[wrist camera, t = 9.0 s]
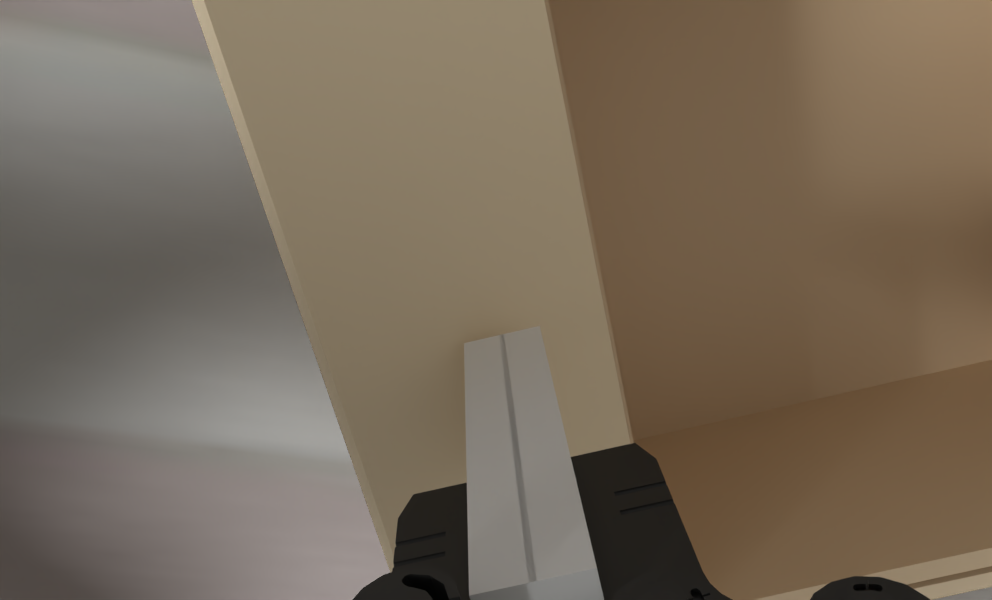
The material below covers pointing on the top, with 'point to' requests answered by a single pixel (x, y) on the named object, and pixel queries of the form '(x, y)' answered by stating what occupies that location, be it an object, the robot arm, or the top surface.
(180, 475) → the top surface
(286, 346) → the top surface
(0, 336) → the top surface
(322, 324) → the flap
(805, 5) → the carton
